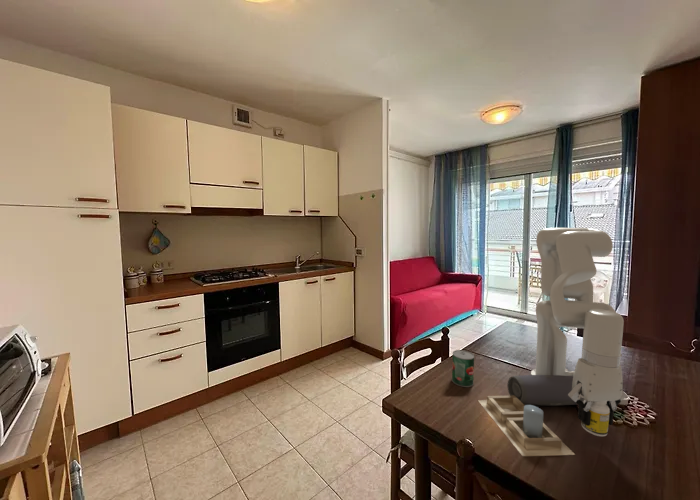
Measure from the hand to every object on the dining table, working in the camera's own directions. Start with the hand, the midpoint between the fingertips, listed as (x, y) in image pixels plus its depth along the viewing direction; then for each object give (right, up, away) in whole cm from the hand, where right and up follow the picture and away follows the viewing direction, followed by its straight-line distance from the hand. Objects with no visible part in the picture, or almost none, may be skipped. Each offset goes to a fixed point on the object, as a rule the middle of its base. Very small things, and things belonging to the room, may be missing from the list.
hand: (594, 420), depth 76 cm
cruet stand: (-15, -7, +9) cm, 19 cm away
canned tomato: (-22, -6, +35) cm, 42 cm away
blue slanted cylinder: (-14, -7, +4) cm, 16 cm away
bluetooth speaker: (+1, -7, +20) cm, 21 cm away
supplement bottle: (0, -3, 0) cm, 3 cm away
